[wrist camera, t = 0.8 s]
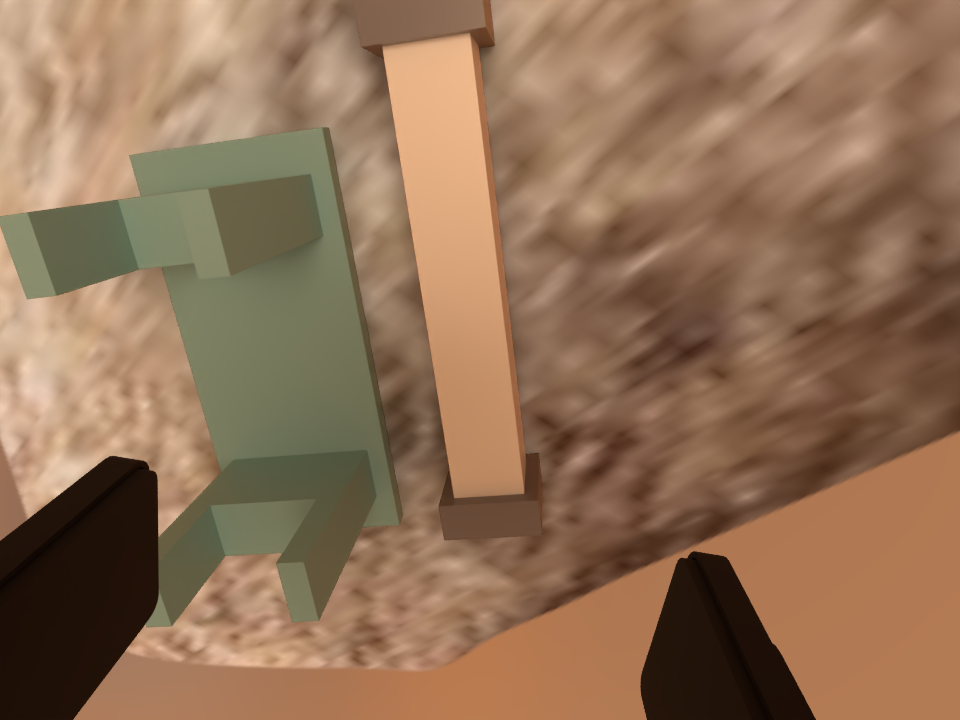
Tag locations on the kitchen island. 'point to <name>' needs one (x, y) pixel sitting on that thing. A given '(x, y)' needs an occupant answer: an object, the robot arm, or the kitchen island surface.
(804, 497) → the kitchen island surface
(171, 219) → the rack
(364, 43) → the tan wooden bar
